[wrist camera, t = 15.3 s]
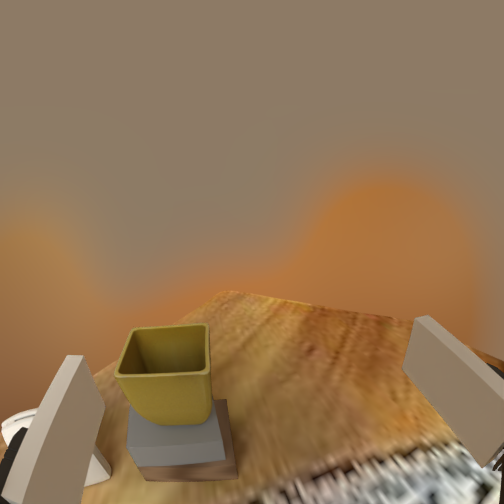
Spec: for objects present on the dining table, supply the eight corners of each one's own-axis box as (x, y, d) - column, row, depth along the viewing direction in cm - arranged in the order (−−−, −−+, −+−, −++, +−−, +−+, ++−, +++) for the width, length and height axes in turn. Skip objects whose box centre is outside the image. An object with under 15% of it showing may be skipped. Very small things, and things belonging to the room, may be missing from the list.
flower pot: (149, 386, 33) (131, 326, 30) (218, 382, 34) (208, 320, 31) (139, 438, 25) (111, 376, 22) (222, 436, 26) (210, 372, 23)
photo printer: (48, 496, 19) (-7, 435, 15) (43, 472, 22) (-6, 408, 19) (117, 480, 25) (75, 418, 21) (107, 456, 28) (70, 391, 24)
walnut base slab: (228, 417, 37) (226, 399, 36) (238, 479, 27) (235, 464, 26) (153, 421, 36) (146, 402, 35) (147, 482, 26) (137, 466, 24)
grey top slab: (212, 401, 36) (209, 380, 35) (225, 459, 27) (222, 440, 25) (139, 408, 34) (132, 386, 33) (137, 466, 24) (126, 447, 23)
